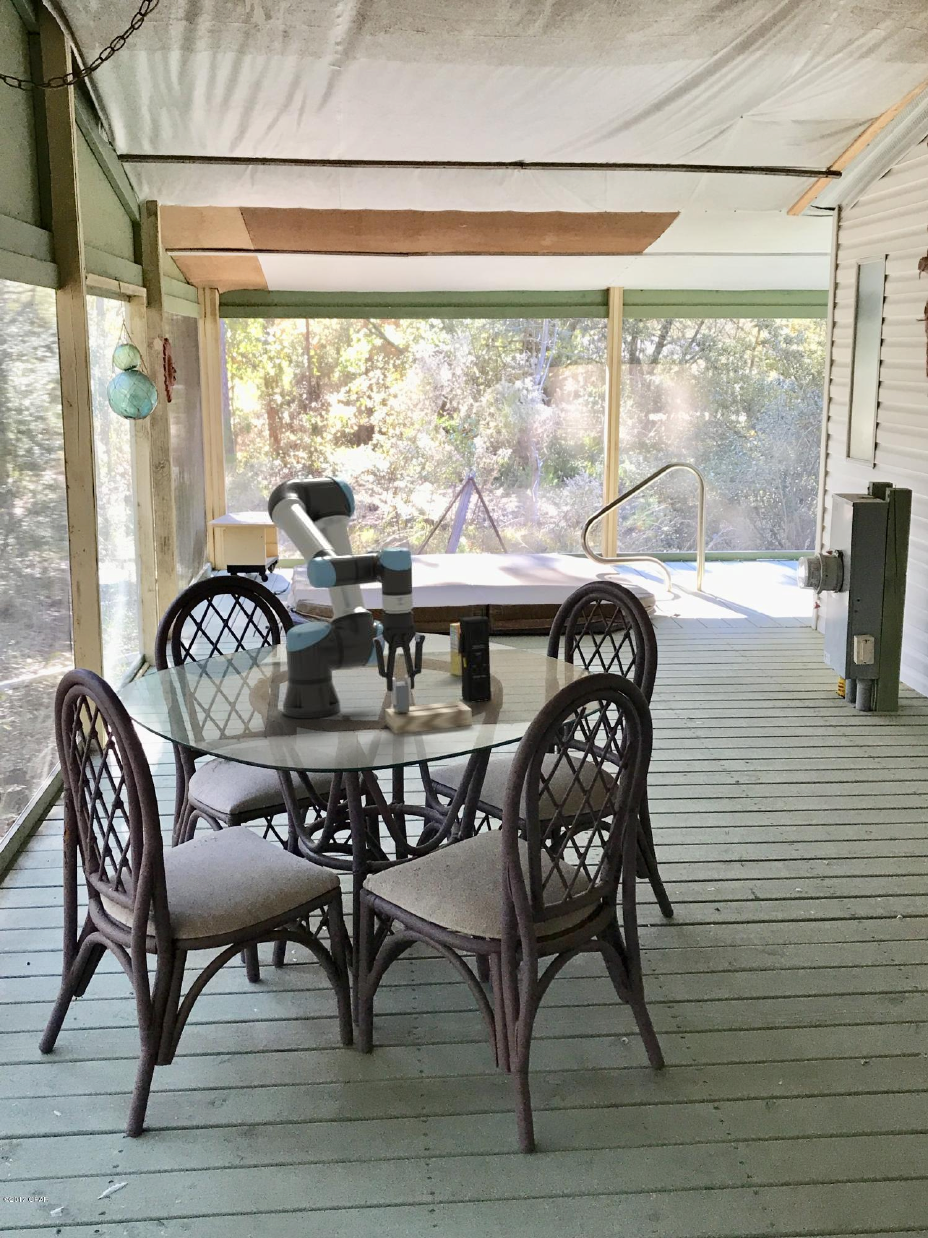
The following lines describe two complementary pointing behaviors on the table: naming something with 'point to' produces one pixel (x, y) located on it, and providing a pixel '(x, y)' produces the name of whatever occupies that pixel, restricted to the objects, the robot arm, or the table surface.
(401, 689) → the blue-grey rectangular block
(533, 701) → the table surface
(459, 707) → the wooden block with slot
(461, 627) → the portable radio
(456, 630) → the candy box
